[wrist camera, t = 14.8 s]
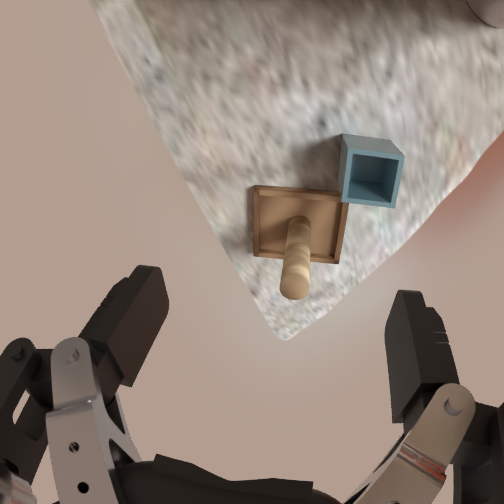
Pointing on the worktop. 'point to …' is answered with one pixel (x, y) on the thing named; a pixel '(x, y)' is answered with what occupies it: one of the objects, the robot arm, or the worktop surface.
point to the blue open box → (369, 171)
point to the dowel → (296, 259)
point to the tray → (293, 204)
